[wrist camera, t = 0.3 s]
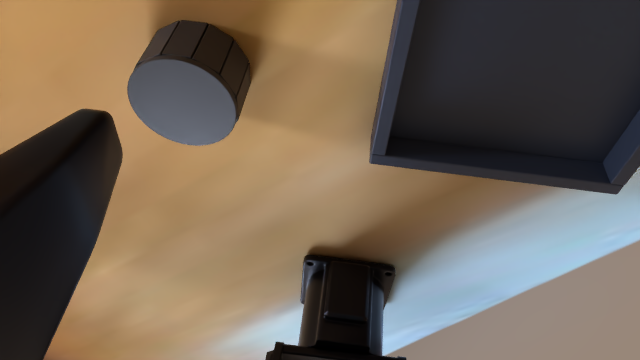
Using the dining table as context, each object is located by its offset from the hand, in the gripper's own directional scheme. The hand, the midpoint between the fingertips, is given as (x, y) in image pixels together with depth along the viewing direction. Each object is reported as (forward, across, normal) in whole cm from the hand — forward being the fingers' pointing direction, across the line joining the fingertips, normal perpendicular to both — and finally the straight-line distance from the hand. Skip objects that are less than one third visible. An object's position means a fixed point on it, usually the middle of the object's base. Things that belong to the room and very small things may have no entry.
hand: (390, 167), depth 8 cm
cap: (+14, +8, +9) cm, 19 cm away
